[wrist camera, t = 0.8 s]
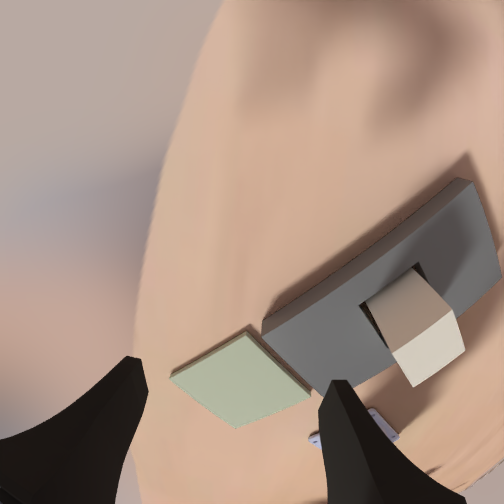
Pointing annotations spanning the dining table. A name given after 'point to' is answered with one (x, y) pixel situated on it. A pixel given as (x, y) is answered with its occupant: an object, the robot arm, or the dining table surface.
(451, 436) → the dining table surface
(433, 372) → the plug
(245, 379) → the mat
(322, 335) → the gray square hole board
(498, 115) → the dining table surface
